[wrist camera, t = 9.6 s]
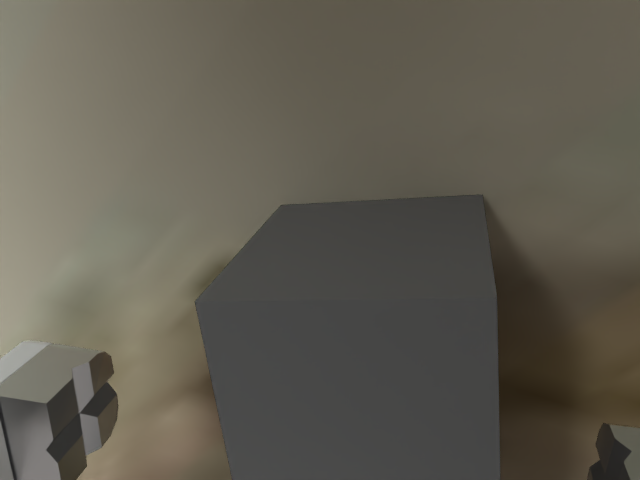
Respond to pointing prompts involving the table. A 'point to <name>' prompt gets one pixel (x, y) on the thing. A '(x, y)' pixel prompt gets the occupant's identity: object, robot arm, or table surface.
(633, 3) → the table surface
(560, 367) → the table surface
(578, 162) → the table surface
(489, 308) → the block
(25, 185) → the table surface
